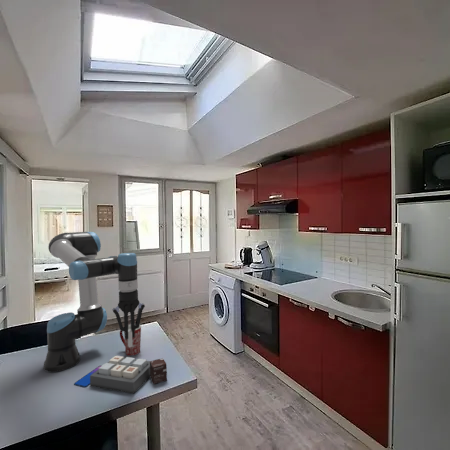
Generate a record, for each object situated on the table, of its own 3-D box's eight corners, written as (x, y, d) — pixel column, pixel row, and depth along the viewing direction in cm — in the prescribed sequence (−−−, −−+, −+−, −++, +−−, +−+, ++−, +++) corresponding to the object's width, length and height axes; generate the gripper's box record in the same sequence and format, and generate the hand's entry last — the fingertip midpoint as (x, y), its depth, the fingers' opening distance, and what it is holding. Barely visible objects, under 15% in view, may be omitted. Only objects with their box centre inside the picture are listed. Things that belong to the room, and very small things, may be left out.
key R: (120, 368, 117) (120, 362, 117) (126, 363, 121) (126, 357, 121) (129, 369, 116) (129, 363, 116) (135, 364, 120) (135, 358, 120)
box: (152, 384, 111) (152, 367, 111) (149, 377, 116) (149, 361, 116) (167, 380, 114) (166, 363, 114) (163, 373, 119) (163, 357, 119)
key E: (132, 370, 116) (132, 363, 116) (138, 365, 120) (138, 358, 120) (141, 371, 114) (141, 364, 114) (146, 366, 119) (146, 359, 119)
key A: (109, 367, 119) (109, 360, 119) (115, 361, 123) (115, 355, 123) (117, 368, 118) (117, 361, 118) (124, 363, 122) (123, 356, 122)
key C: (123, 378, 109) (122, 371, 109) (129, 373, 114) (129, 365, 114) (132, 380, 108) (132, 372, 108) (138, 374, 112) (138, 367, 112)
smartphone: (72, 383, 112) (100, 365, 126) (72, 385, 112) (100, 366, 126) (85, 387, 110) (112, 367, 124) (85, 389, 110) (112, 369, 124)
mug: (145, 349, 142) (145, 324, 142) (133, 358, 133) (133, 331, 133) (127, 346, 147) (126, 321, 146) (115, 353, 138) (114, 328, 138)
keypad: (90, 386, 111) (89, 375, 111) (115, 366, 126) (115, 356, 126) (133, 393, 105) (133, 382, 105) (154, 371, 121) (154, 361, 121)
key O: (99, 375, 112) (98, 368, 112) (106, 369, 117) (106, 362, 117) (107, 376, 111) (107, 369, 111) (114, 370, 116) (114, 364, 116)
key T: (110, 377, 111) (110, 369, 111) (117, 371, 115) (117, 364, 115) (119, 378, 110) (119, 370, 110) (126, 372, 114) (126, 365, 114)
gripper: (112, 294, 104) (114, 353, 104) (146, 289, 111) (147, 345, 111) (110, 290, 111) (112, 346, 111) (142, 286, 117) (143, 338, 117)
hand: (130, 345), depth 111 cm, fingers closed
